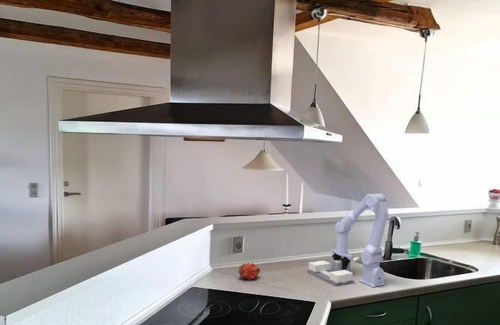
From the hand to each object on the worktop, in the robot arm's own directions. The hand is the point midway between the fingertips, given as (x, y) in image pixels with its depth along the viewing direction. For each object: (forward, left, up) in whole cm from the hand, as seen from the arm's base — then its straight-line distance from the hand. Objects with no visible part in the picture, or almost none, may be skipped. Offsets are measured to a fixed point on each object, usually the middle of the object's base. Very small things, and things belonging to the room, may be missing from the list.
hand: (340, 269), depth 197 cm
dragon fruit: (+10, +50, -2) cm, 51 cm away
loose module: (0, 0, -2) cm, 2 cm away
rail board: (-4, +11, -1) cm, 12 cm away
